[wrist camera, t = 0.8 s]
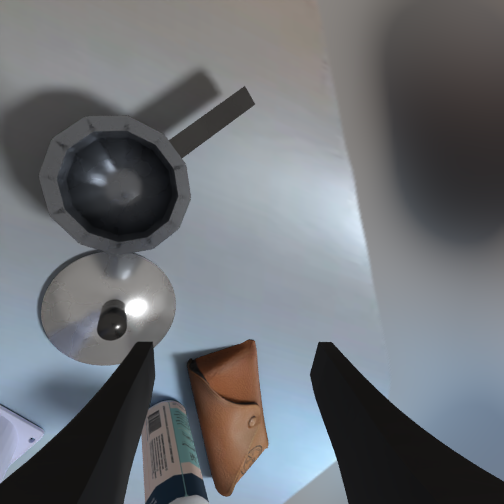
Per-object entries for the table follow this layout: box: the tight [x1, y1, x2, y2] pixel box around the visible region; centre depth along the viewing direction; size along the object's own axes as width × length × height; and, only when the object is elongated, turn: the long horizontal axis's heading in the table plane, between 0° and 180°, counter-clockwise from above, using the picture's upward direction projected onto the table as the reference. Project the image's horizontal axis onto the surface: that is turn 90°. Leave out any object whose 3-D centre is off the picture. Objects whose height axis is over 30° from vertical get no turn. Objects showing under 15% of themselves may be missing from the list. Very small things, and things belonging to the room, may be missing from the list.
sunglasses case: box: [187, 339, 268, 497], centre depth 34 cm, size 18×7×7 cm, turn 9°
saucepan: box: [38, 86, 255, 255], centre depth 24 cm, size 18×10×4 cm, turn 126°
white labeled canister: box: [141, 400, 209, 504], centre depth 26 cm, size 5×5×12 cm
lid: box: [41, 252, 176, 366], centre depth 25 cm, size 11×11×4 cm
